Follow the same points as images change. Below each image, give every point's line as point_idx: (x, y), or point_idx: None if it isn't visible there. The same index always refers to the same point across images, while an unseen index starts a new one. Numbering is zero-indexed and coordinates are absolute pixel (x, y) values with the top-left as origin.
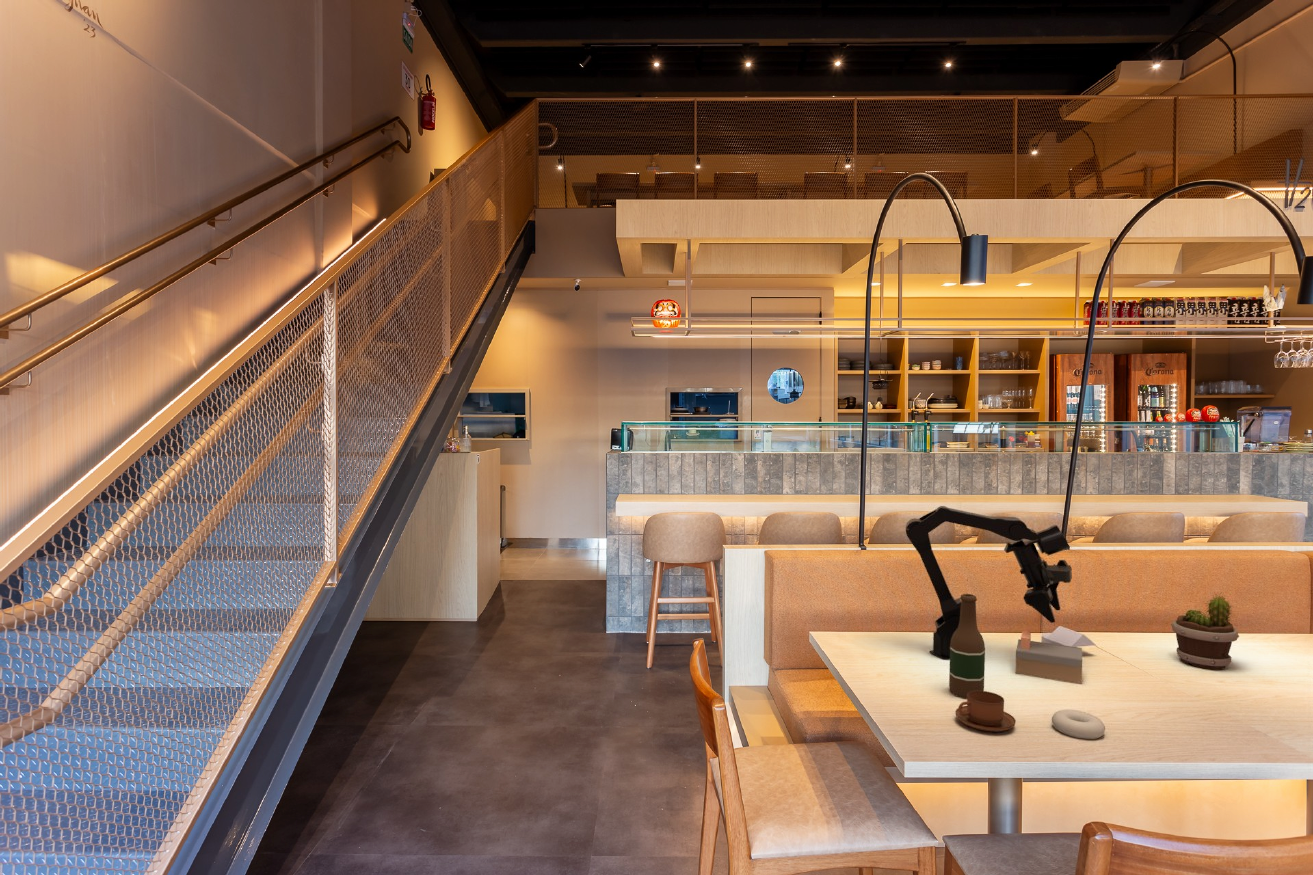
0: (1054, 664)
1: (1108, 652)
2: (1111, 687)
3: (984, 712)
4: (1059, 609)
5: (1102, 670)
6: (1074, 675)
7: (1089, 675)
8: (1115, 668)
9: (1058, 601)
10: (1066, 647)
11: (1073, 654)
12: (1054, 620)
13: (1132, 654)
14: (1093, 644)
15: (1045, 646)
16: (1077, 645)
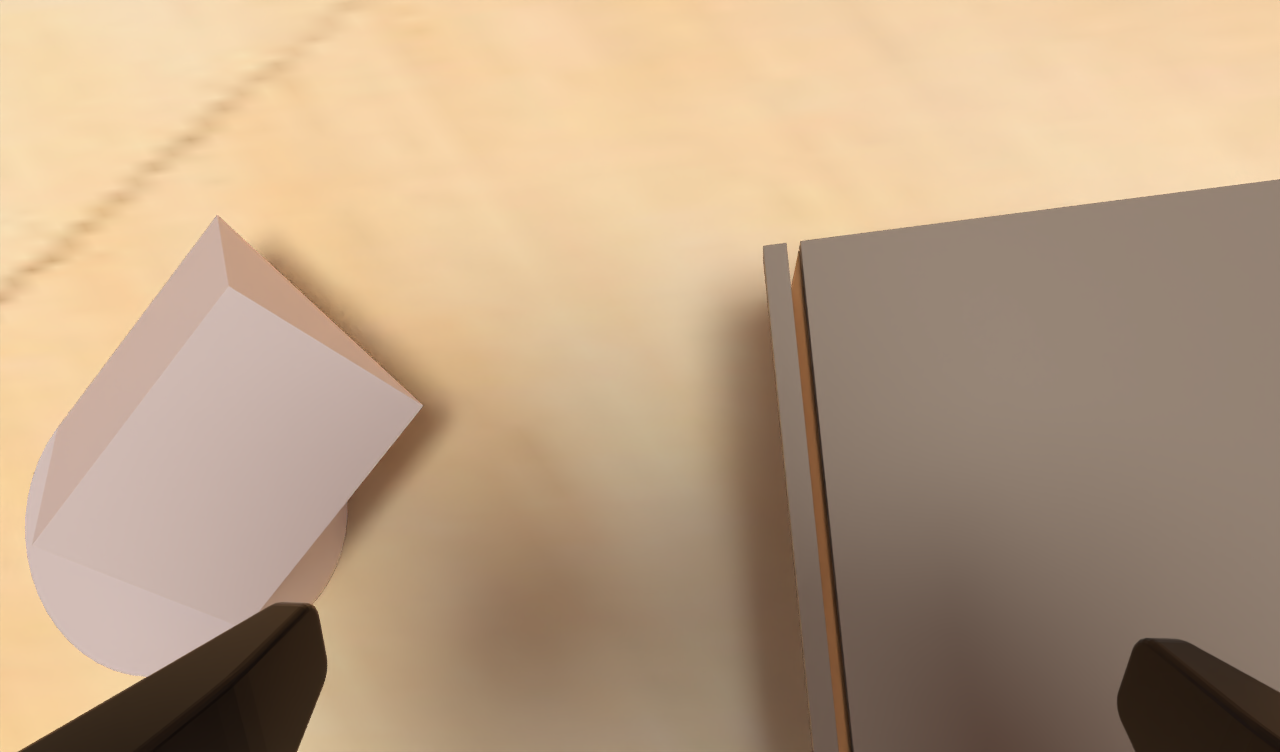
0: None
1: (139, 176)
2: (1083, 33)
3: None
4: (316, 618)
5: (635, 154)
6: None
7: (844, 222)
8: (520, 80)
9: (140, 737)
10: (862, 399)
11: (1148, 293)
12: (1218, 663)
13: (102, 30)
14: (232, 232)
15: (985, 632)
16: (355, 349)
